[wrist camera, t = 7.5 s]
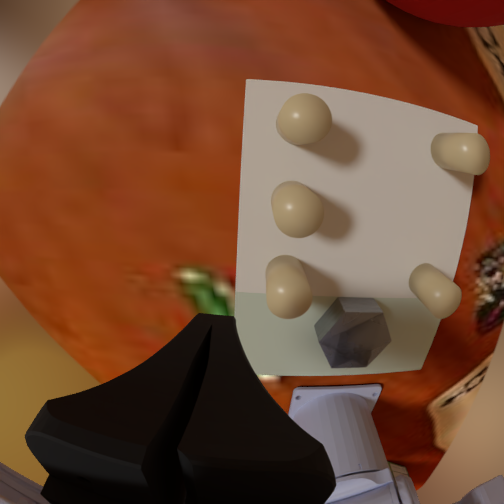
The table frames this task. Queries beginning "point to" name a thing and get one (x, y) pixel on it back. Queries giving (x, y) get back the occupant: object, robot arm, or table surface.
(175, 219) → the table surface
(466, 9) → the ceramic cup
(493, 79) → the table surface
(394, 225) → the board
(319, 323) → the grey faceted polyhedron
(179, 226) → the table surface
